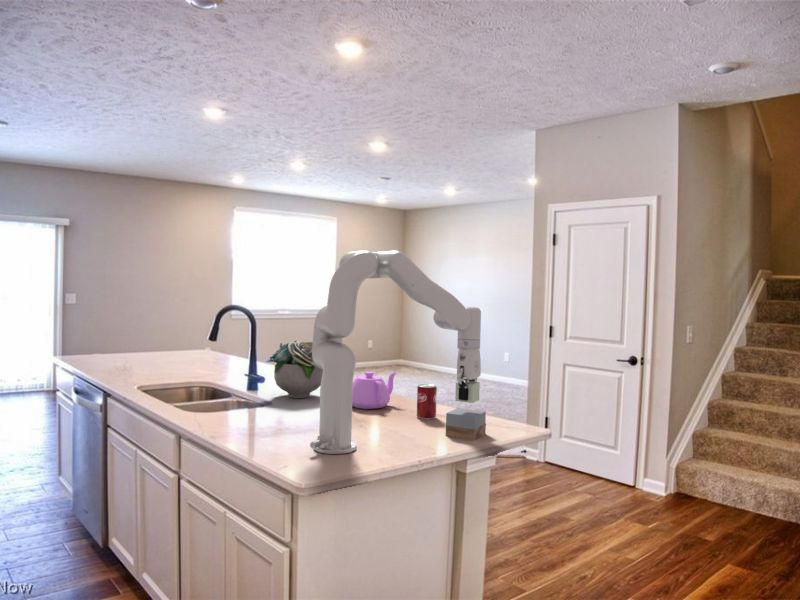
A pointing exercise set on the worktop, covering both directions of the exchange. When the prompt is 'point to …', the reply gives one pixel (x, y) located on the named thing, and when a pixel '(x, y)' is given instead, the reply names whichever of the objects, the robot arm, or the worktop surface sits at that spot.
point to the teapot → (371, 391)
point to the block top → (465, 418)
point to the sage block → (469, 392)
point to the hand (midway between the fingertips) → (467, 397)
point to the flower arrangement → (296, 369)
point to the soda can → (426, 401)
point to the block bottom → (465, 432)
